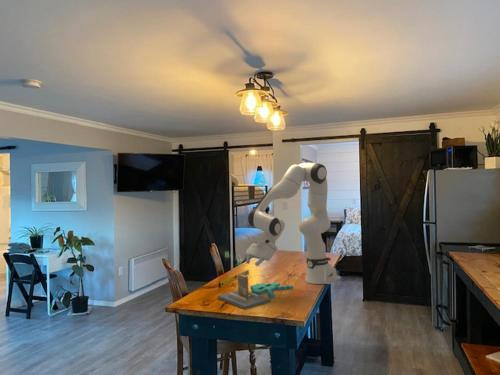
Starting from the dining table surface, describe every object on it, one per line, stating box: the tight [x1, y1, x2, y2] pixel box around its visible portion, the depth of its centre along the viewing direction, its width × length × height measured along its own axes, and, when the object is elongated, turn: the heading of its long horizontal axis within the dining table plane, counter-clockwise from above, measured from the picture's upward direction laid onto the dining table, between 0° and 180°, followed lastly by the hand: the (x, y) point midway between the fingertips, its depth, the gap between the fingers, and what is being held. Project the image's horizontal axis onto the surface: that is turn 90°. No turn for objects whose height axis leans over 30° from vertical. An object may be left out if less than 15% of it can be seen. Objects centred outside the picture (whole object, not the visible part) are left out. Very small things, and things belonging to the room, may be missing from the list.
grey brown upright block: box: [237, 274, 251, 298], centre depth 186 cm, size 5×6×11 cm
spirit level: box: [218, 269, 250, 288], centre depth 225 cm, size 33×1×3 cm, turn 151°
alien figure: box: [250, 281, 294, 299], centre depth 201 cm, size 20×2×20 cm
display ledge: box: [217, 289, 271, 310], centre depth 186 cm, size 16×24×3 cm, turn 38°
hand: (251, 264), depth 193 cm, fingers open, 8 cm apart
